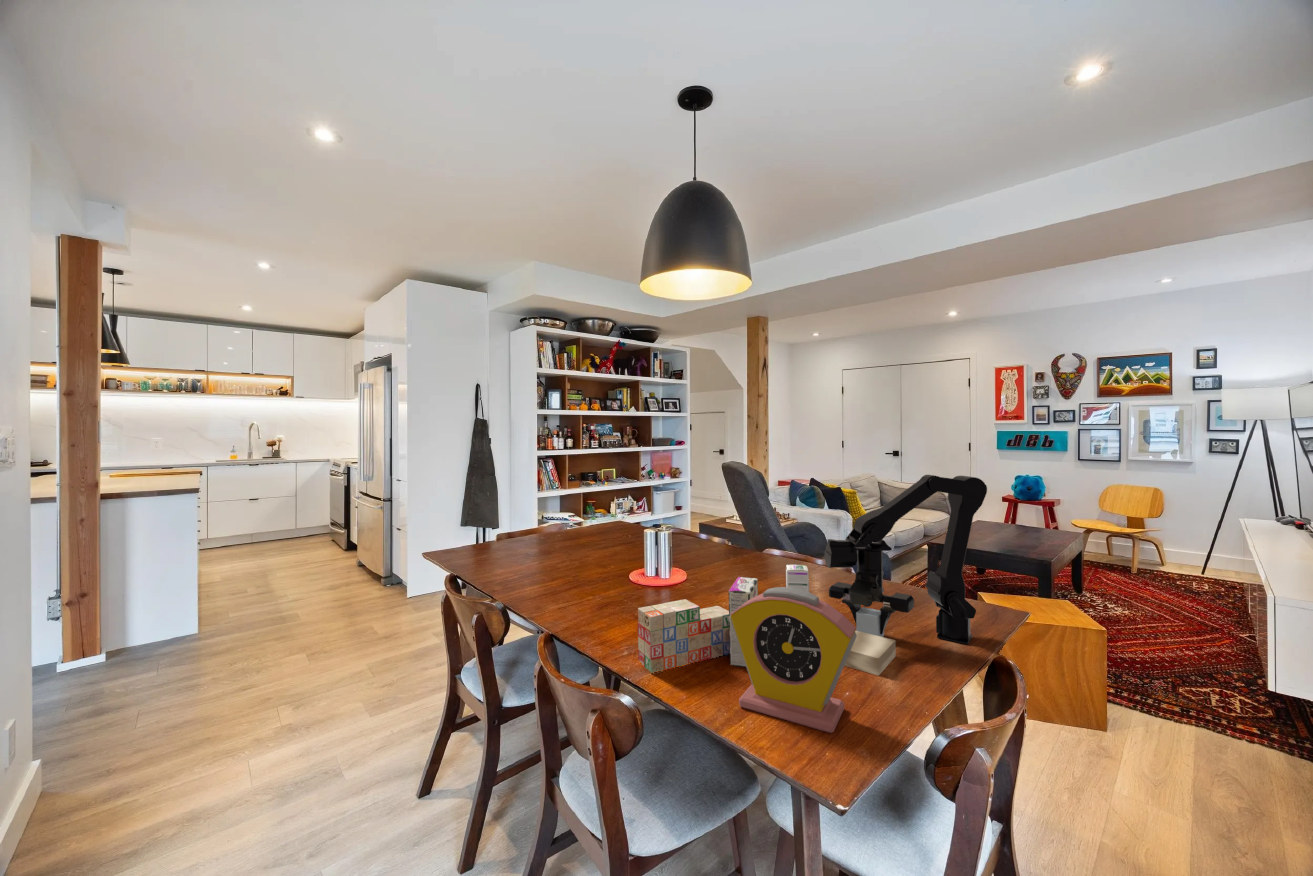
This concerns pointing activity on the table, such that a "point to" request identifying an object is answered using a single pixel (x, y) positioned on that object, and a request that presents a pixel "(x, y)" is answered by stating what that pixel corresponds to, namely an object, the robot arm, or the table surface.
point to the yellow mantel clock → (793, 656)
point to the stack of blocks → (681, 634)
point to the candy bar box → (737, 597)
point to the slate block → (868, 621)
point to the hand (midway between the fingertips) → (870, 631)
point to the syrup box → (797, 577)
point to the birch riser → (871, 653)
